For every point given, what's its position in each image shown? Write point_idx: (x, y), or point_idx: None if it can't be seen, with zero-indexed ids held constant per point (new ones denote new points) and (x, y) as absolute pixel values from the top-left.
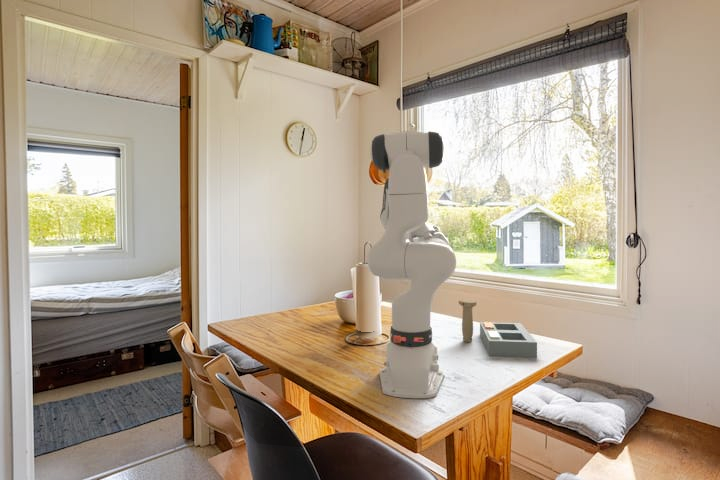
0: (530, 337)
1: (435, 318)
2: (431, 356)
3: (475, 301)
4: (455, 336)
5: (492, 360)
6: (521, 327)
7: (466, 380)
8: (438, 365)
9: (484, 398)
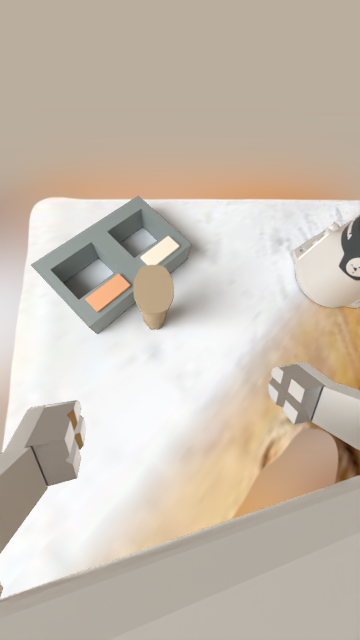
0: (120, 211)
1: (38, 534)
2: (345, 224)
3: (140, 270)
4: (147, 358)
5: (199, 246)
6: (66, 248)
7: (275, 231)
8: (329, 226)
9: (289, 200)
